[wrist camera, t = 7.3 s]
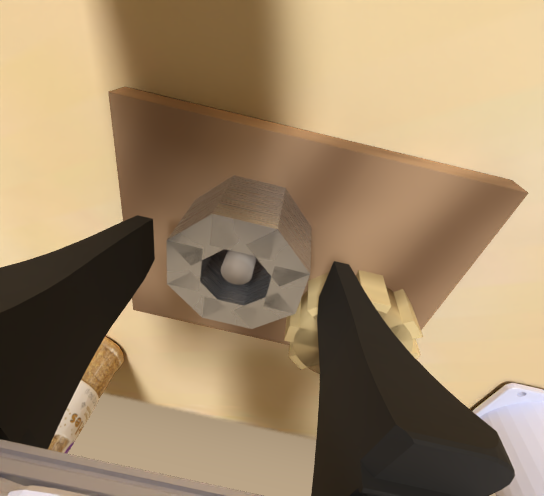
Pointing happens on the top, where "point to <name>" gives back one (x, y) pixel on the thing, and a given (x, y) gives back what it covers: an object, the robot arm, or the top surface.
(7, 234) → the top surface
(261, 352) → the top surface
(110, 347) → the sprinkles bottle
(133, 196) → the gear board
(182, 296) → the loose gear
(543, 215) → the top surface
